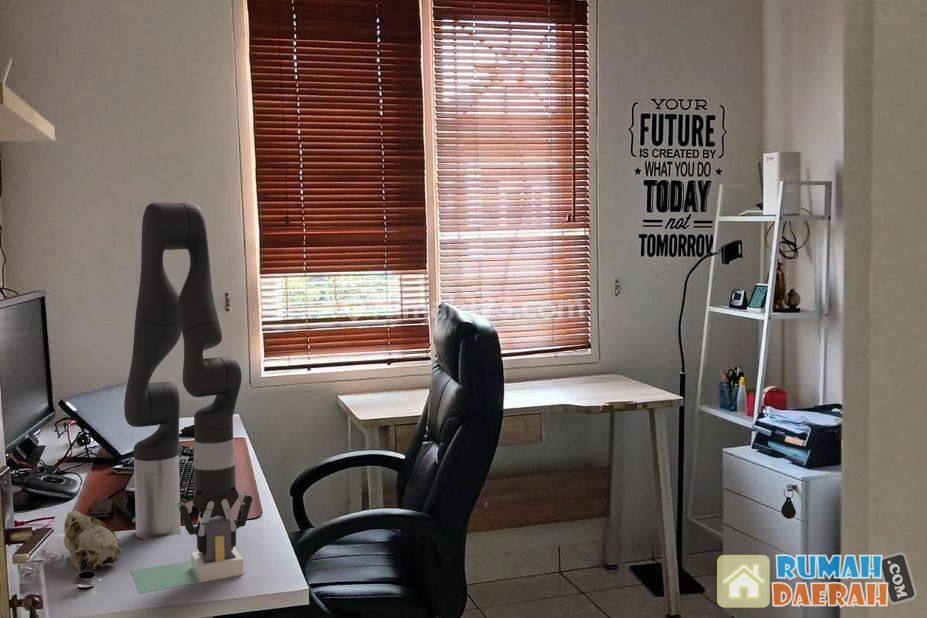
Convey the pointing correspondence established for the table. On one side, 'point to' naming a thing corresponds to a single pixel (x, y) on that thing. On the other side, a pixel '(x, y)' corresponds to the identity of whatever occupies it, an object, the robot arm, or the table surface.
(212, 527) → the plug
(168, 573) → the board
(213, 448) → the robot arm
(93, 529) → the skull
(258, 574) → the table surface
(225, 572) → the frame
